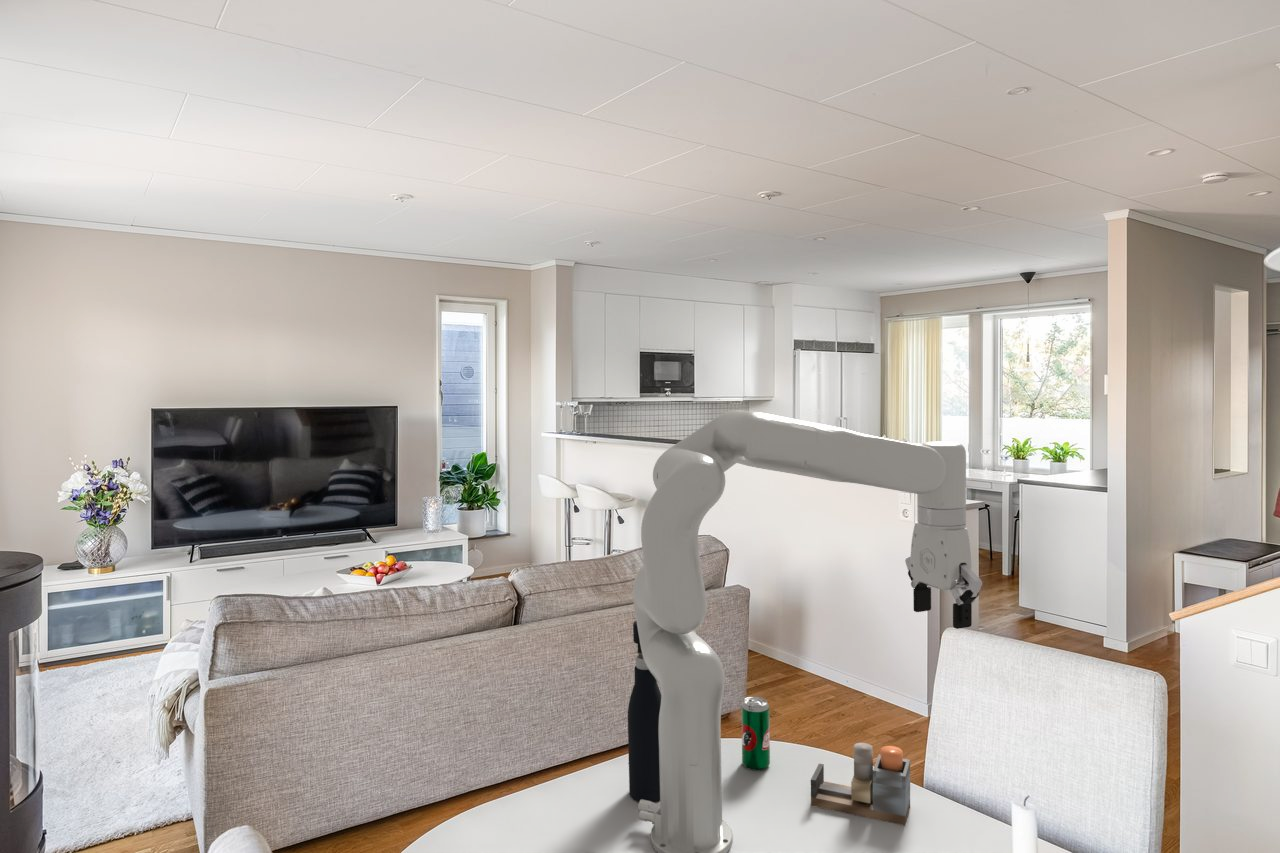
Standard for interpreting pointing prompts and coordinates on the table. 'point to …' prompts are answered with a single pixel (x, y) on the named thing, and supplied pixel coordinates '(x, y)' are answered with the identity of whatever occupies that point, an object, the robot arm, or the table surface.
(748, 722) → the soda can
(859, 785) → the carriage
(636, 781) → the wine bottle
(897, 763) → the button
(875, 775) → the stand
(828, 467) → the robot arm
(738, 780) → the table surface
